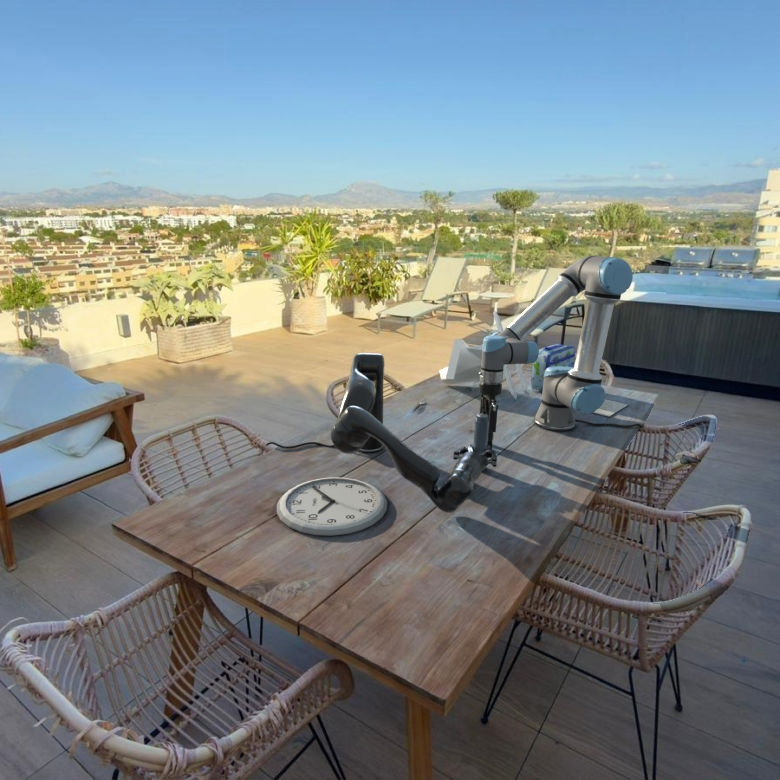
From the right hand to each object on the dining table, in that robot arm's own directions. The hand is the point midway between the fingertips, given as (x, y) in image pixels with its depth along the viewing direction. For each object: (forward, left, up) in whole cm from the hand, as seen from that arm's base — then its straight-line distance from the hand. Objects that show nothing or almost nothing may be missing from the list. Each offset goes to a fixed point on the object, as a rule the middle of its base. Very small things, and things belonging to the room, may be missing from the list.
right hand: (485, 445), depth 184 cm
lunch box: (-35, -75, 0) cm, 83 cm away
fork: (+26, -38, 0) cm, 46 cm away
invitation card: (-52, -51, 0) cm, 73 cm away
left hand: (+2, +16, +6) cm, 17 cm away
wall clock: (+44, +48, 0) cm, 65 cm away
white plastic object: (-1, -63, 0) cm, 63 cm away
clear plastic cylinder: (+3, +18, 0) cm, 19 cm away
